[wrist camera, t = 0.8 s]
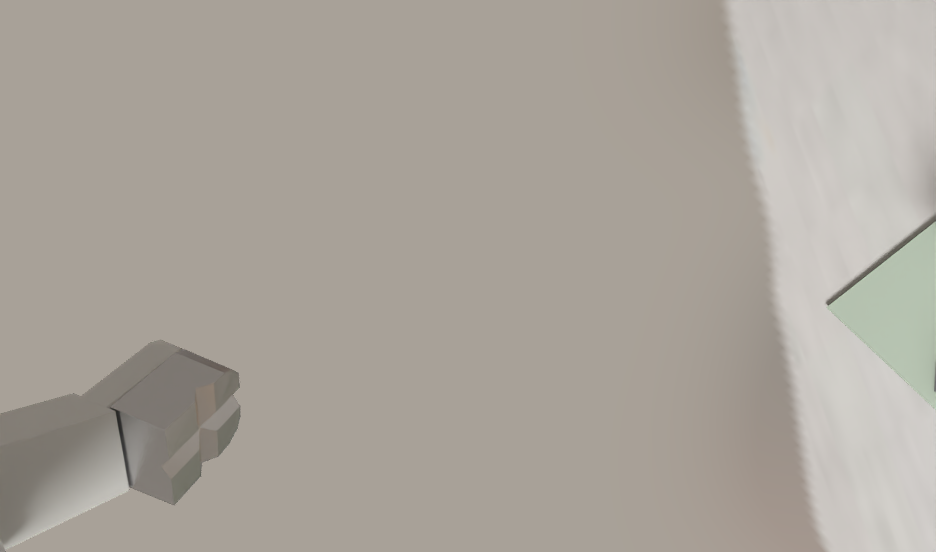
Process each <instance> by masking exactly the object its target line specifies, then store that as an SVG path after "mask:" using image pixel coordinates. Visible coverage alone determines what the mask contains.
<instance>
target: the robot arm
mask: <svg viewBox="0 0 936 552" xmlns="http://www.w3.org/2000/svg"><path fill="white" fill-rule="evenodd" d="M239 388H240V383H239V373H238V372H236V371H234V370H232V369H229V368H227V367H225V366H222V365H220V364H218V363H215V362H213V361H211V360H208V359H206V358H204V357H201V356H199V355H196V354H194V353H192V352H190V351H187V350H184V349H182V348H180V347H177V346H175V345H172V344H170V343H167V342H165V341H163V340H158V341H154V342H151V343H149V344H148V345H147V346H145V347H144V348H143V349H141V350H140V351H139V352H138V353H136V354H135V355H134V356H132V357H131V358H130V359H128V360H127V361H126V362H124V363H123V364H122V365H121V366H119V367H118V368H117V369H115V370H114V371H113V372H112V373H110V374H109V375H108V376H107V377H105V378H104V379H103V380H101V381H100V382H99V383H97V384H96V385H95V386H93V388H91V389H90V390H88V391H87V392H86V393H85V394H83V395H82V396H79V395H77V394H74V393H73V394H69V395H66V396H62V397H59V398H55V399H51V400H48V401H44V402H41V403H37V404H33V405H30V406H27V407H23V408H19V409H16V410H12V411H8V412H4V413H1V414H0V552H6V551H5V550H6V549H8V548H10V547H13V546H14V545H17V544H19V543H21V542H23V541H25V540H27V539H29V538H31V537H33V536H35V535H38V534H39V533H41V532H44V531H46V530H48V529H50V528H52V527H54V526H56V525H58V524H61V523H62V522H65V521H67V520H69V519H71V518H73V517H75V516H77V515H79V514H81V513H83V512H86V511H88V510H90V509H92V508H94V507H96V506H98V505H100V504H102V503H104V502H106V501H108V500H110V499H113V498H115V497H117V496H119V495H121V494H123V493H125V492H127V491H129V490H130V489H129V487H130V488H133V489H135V490H137V491H140V492H142V493H145V494H147V495H150V496H152V497H155V498H157V499H159V500H162V501H164V502H167V503H169V504H172V505H175V504H176V503H177V502H178V501H179V500H180V499H181V498H182V496H183V495H184V494H185V493H186V492H187V491H188V490H189V489H190V487H191V486H192V485H193V484H194V483H195V482H196V481H197V480H198V479H199V477H201V468H202V463H203V462H205V461H208V460H210V459H213V458H216V457H218V456H219V455H220V454H221V453H222V452H223V451H224V449H225V448H226V447H227V446H228V445H229V443H230V441H231V440H232V438H233V436H234V434H235V432H236V430H237V428H238V424H239V420H240V405H239V403H238V401H237V400H236V398H235V397H234V395H233V394H234V393H235V392H236V391H237V390H238V389H239Z"/></svg>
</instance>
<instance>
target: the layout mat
mask: <svg viewBox="0 0 936 552" xmlns="http://www.w3.org/2000/svg"><path fill="white" fill-rule="evenodd" d="M826 308H827V309H829V310H830V311H831V312H832V313H833V314H834V315H835V316H836V317H837V318H838V319H839V320H840V321H841V322H842V323H843V324H845V325H846V326H847V327H848V328H849V329H850V330H851V331H852V332H853V333H854V334H855V335H856V336H857V337H858V338H859V339H861V340H862V341H863V342H864V343H865V344H866V345H867V346H868V347H869V348H870V349H871V350H872V351H873V352H874V353H875V354H877V355H878V356H879V357H880V358H881V359H882V360H883V361H884V362H885V363H886V364H887V365H888V366H889V367H890V368H891V369H893V370H894V371H895V372H896V373H897V374H898V375H899V376H900V377H901V378H902V379H903V380H904V381H905V382H906V383H907V384H909V385H910V386H911V387H912V388H913V389H914V390H915V391H916V392H917V393H918V394H919V395H920V396H921V397H922V398H923V399H925V400H926V401H927V402H928V403H929V404H930V405H931V406H932V407H933V408H934V409H935V410H936V221H935V222H934V223H933V224H931V225H930V226H929V227H928V228H926V229H925V230H924V231H922V232H921V233H920V234H919V235H917V236H916V237H915V238H914V239H912V240H911V241H910V242H908V243H907V244H906V245H905V246H903V247H902V248H901V249H900V250H898V251H897V252H896V253H895V254H893V255H892V256H891V257H889V258H888V259H887V260H886V261H884V262H883V263H882V264H881V265H879V266H878V267H877V268H876V269H874V270H873V271H872V272H870V273H869V274H868V275H867V276H865V277H864V278H863V279H862V280H860V281H859V282H858V283H856V284H855V285H854V286H853V287H851V288H850V289H849V290H848V291H846V292H845V293H844V294H843V295H841V296H840V297H839V298H837V299H836V300H835V301H834V302H832V303H831V304H830V305H829V306H827V307H826Z"/></svg>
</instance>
